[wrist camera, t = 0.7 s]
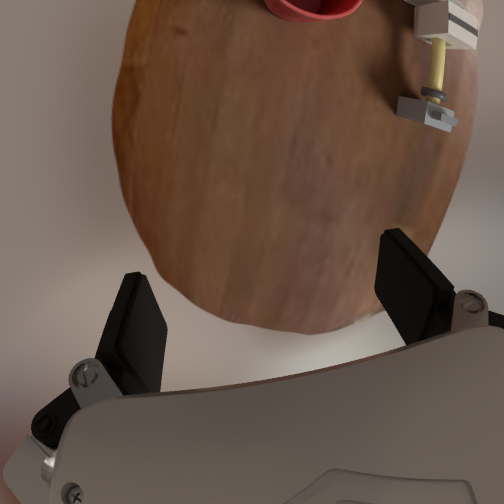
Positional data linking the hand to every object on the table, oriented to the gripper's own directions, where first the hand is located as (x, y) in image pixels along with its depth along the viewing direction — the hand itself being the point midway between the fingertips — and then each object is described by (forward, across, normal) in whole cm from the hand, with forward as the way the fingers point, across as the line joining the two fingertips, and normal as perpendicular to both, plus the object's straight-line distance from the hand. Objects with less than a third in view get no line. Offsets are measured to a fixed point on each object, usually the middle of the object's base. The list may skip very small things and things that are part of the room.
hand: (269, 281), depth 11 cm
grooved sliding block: (+27, -29, -16) cm, 43 cm away
